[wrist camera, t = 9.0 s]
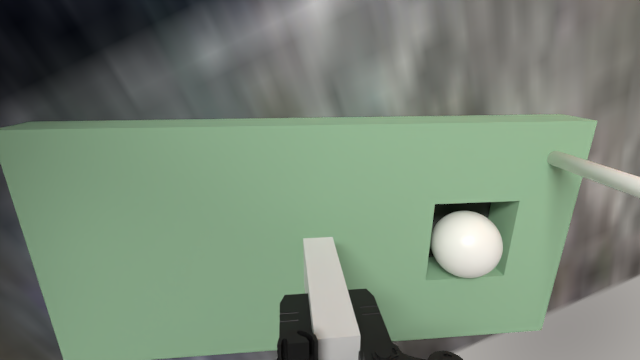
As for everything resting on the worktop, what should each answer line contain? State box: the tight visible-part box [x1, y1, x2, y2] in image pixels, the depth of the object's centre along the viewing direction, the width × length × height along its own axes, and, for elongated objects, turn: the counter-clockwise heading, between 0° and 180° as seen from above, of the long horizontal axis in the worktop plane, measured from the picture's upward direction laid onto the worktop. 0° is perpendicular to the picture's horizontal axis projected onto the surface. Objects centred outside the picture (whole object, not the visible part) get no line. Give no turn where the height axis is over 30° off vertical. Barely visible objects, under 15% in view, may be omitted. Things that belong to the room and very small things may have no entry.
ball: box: [431, 211, 503, 278], centre depth 20 cm, size 4×4×4 cm
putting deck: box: [0, 114, 640, 360], centre depth 15 cm, size 31×14×12 cm, turn 90°
